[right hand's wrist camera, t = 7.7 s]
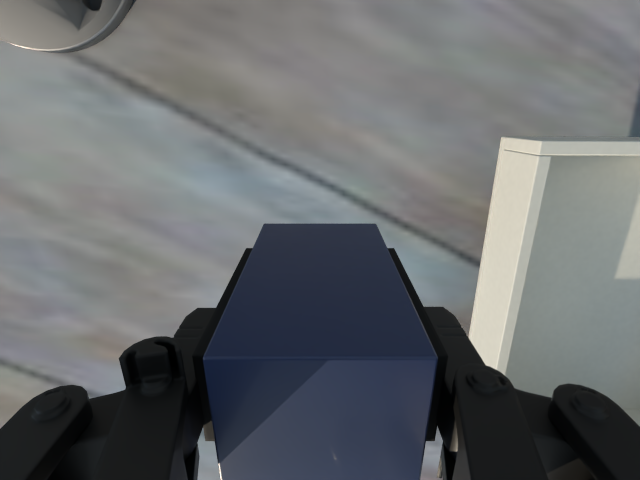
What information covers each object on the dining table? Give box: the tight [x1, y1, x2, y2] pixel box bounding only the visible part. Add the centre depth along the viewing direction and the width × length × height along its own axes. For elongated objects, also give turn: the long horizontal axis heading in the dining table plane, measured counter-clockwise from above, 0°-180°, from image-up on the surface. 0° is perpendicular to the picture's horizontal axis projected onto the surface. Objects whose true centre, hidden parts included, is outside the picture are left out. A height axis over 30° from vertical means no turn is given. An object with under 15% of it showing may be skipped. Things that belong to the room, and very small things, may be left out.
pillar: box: [203, 224, 438, 480], centre depth 11 cm, size 4×4×8 cm
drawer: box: [469, 136, 640, 426], centre depth 24 cm, size 24×18×8 cm
